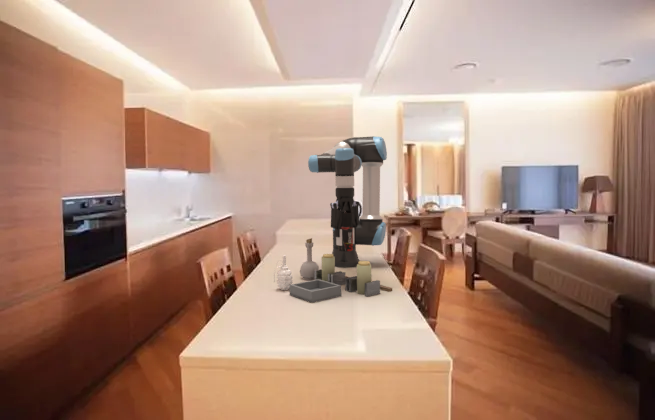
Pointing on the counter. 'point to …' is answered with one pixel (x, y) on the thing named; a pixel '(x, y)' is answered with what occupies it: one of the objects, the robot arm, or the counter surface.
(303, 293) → the tray
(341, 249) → the deodorant
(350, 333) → the counter surface
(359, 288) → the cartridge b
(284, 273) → the hand grenade
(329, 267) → the cartridge
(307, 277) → the potion bottle
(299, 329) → the counter surface
